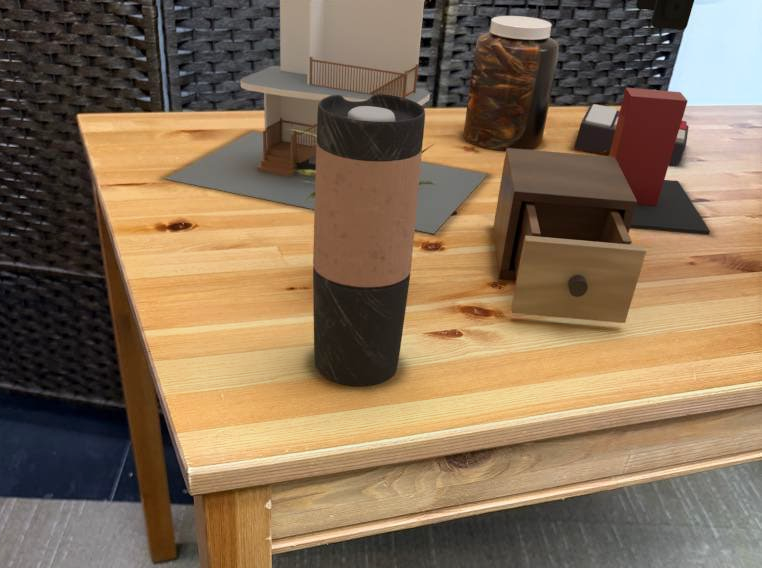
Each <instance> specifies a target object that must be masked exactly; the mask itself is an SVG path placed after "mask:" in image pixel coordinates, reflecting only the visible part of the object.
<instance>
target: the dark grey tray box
mask: <svg viewBox="0 0 762 568" xmlns="http://www.w3.org/2000/svg"><path fill="white" fill-rule="evenodd" d="M619 113H620V110H618V109H617V108H616V107H611V106H606V105H601V104H596V103H594V104H592V105H589V107H588V108H587V110H586V113H585V114H584V116H583V118H582V119H581V123H580V125H579V129H578V132H577V136H576V139H575V143H574V149H576V150H579V151H584V152H588V153H593V154H597V155H600V154H603V153H605V152H609V153H610V149H611V145H612V141H613V137H614V133H615V129H616V125H617V121H618V117H619ZM687 123H688V122H687V121H686V120H682V122H681V125H680V128H679V132H678V135H677V139H676V142H675V145H674V149H673V152H672V155H671V159H670V162H669V166H674V167H675V166H676V167H678V166H680V164H681V161H682V158H683V156H684V152H685V149H686V147H687V141H688V135H689V127H690V126H689V125H688V124H687Z"/></svg>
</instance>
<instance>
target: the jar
mask: <svg viewBox="0 0 762 568" xmlns="http://www.w3.org/2000/svg"><path fill="white" fill-rule="evenodd" d="M488 30H489V31H487V32H485V33H483V34H481V35H479V36H478V38H477V39H476V45H475V49H474V54H473V61H472V66H471V67H472V68H471V75H470V82H469V87H468V95H467V96H468V97H467V105H466V111H465V119H464V128H463V138H464V139H465V140H466V141H467V142H469V143H471V144H473V145H475V146H479V147H481V148H486V149H491V150H497V151H506V149H507V148H513V149H525V150H533V149H536V148H538V147H539V146H541V144H542V142H543V138H544V133H545V129H546V128H545V127H546V123H547V119H548V113H549V108H550V102H551V97H552V92H553V86H554V82H555V81H554V80H555V76H556V70H557V65H558V58H559V48H560V47H559V43H558V42H557V41H556V40H555V39H553V38H552V37H551V31H552V23H551V22H550V21H548V20H545V19H541V18H536V17H530V16H520V15H500V16H494V17H492V18H491V20H490V26H489V29H488Z"/></svg>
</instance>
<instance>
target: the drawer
mask: <svg viewBox="0 0 762 568" xmlns="http://www.w3.org/2000/svg"><path fill="white" fill-rule="evenodd" d="M646 254H647V248H646V247H645V245H639V244H632V239H631V236H630V234H629V233H628V232H627V230H626V227H625V225H624V223H623V221H622V218H621V216H620V214H619V211H618V209H608V208H596V207H585V206H573V205H562V204H550V203H538V202H527V201H523V205H522V210H521V215H520V221H519V226H518V231H517V237H516V242H515V247H514V253H513V259H514V266H515V273H516V280H515V285H514V290H513V295H512V300H511V306H510V310H511V314H518V315H519V314H520V315H532V316H541V317H542V316H543V317H552V318H563V319H575V320H586V321H599V322H611V323H618V324H625V323H626V321H627V318H628V315H629V311H630V308H631V304H632V302H633V298H634V294H635V291H636V288H637V284H638V281H639V278H640V275H641V271H642V267H643V265H644V261H645V258H646Z"/></svg>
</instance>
